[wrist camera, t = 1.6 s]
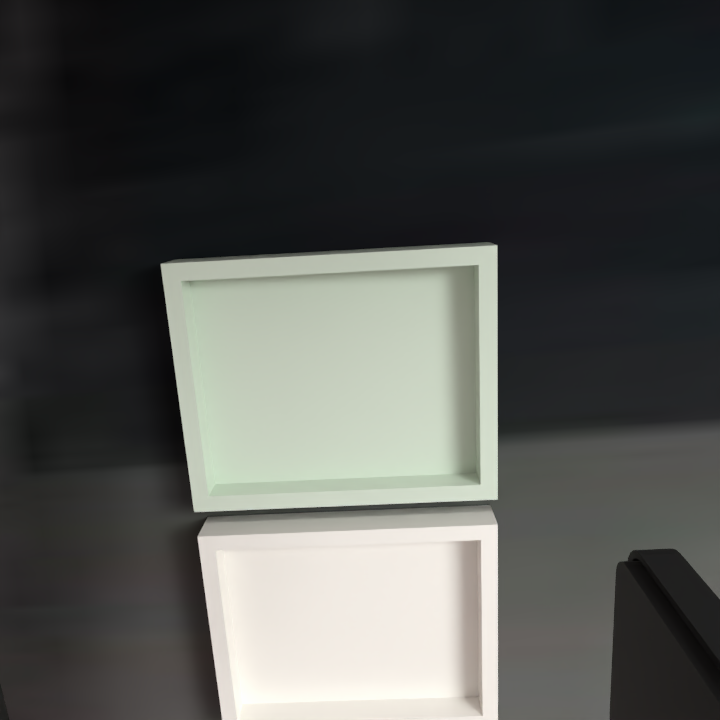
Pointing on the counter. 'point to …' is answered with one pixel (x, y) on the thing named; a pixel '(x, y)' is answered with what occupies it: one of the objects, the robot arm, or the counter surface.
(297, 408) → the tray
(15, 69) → the counter surface
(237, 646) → the tray
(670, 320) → the counter surface
